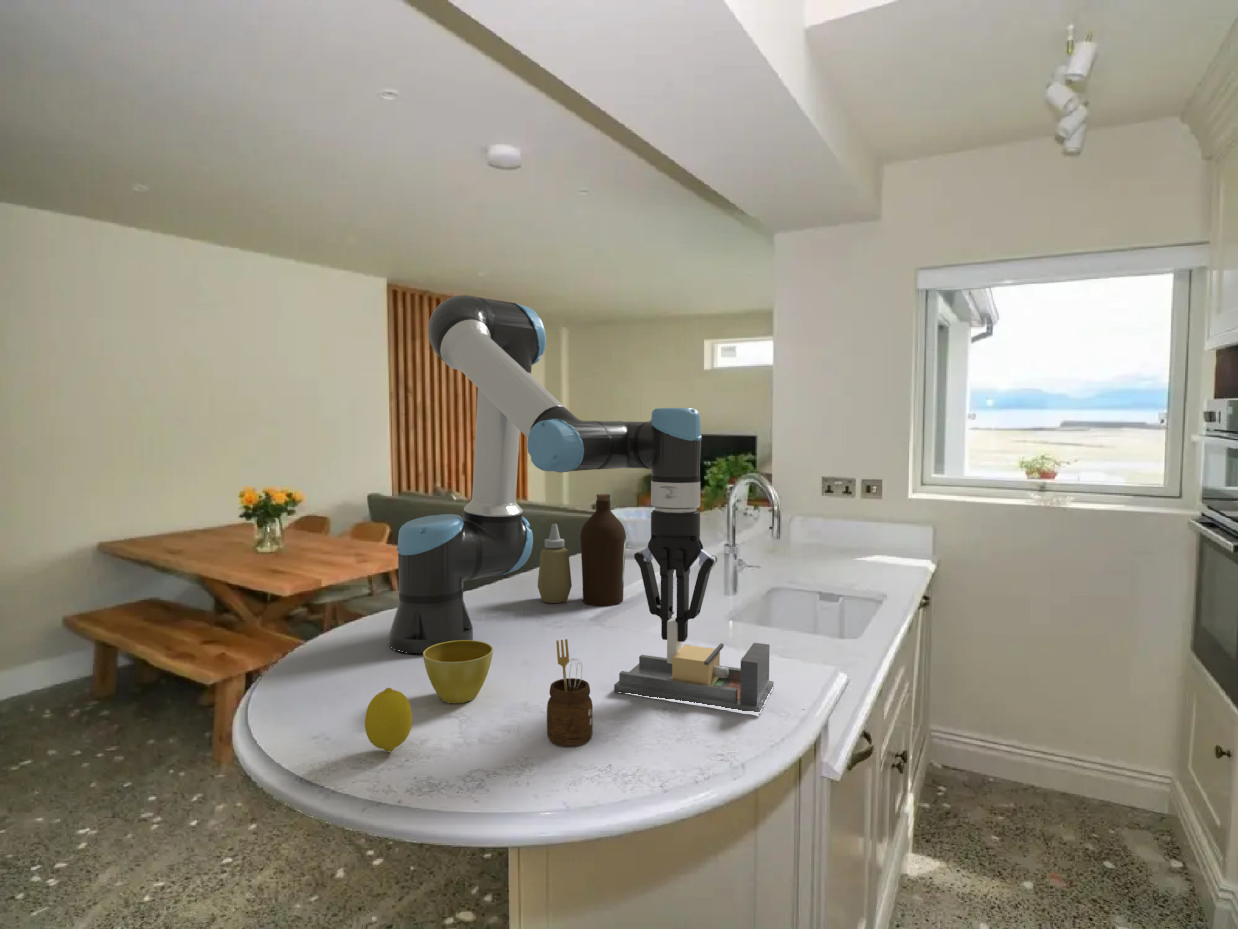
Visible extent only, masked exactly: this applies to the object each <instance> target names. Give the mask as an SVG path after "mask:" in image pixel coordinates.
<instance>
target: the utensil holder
mask: <svg viewBox="0 0 1238 929" xmlns="http://www.w3.org/2000/svg"><path fill="white" fill-rule="evenodd" d="M555 641H556V642H555V644H556V656H557V665H560V666H561V667H562V677H563V678H560V679H557V680H554V681H553V682H552V683H551V684H550V687H549V693H548V694H549V696H550V697H549V699H548V701H547V705H546V734H547V739H548V741H549V742H550V743H551V744H553V745H555V746H557V747H562V748H576V747H579V746H583V745H585V744H587V743H588V742H590V740H592V736H593V727H594V726H593V725H594V718H593V717H594V715H593V714H594V709H593V707H594V706H593V701H592V698H591V697H590V694H591V688H590V684H589V682H588V681H586V680H584V679H582V678H583V677H582V675H583V666H582V665H583V664H582V662H580V661H579V660H577V658H575V659H574V658H571V659H570V655H569V654H570V652H569V642H568V639H567V638H566V639H565V640H563V639H561V640H560V641H559V640H555ZM559 642H560V643H559ZM564 644H565V648H564ZM560 647H561V650H560ZM560 652H561V653H560ZM571 662H575V664H576V666H575V667H576V668H575V669H576V673H575V674H576V675H575V676H576V677H574V678H573V677H571V671H569V672H568V673H569V674H568V677H567V672H566V669H567V668H566V667H567V665H569V663H570V665H569V666H570V667H569V669H571V667H572V664H573V663H571ZM578 665H580V669H581V672H580V674H581V676H580V678H577V675H578Z"/></svg>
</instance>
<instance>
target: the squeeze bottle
mask: <svg viewBox="0 0 1238 929" xmlns="http://www.w3.org/2000/svg"><path fill="white" fill-rule="evenodd" d="M569 554H570V553H569V549H567V548H566V547H565V539H564V538H561V536H560V532H559V527H558V524H557V523H552V524H551V527H550V532H549V538H545V539H544V548H542V549H541V550H540V556H539V565H538V566H539V569H538V578H537V589H538V592H539V595H540V599H541V602H544V603H548V604H559V603H565V602H567V601H568V600H569V596H570V592H571V589H572V586H573V585H572V574H571V566H570V555H569Z"/></svg>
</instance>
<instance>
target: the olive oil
mask: <svg viewBox="0 0 1238 929" xmlns="http://www.w3.org/2000/svg"><path fill="white" fill-rule="evenodd" d="M611 504H612V502H611V494H610V493H598V494H596V500H595V508H596V509H595V511H594V512H593V513H592V514H591V516H589V518H588V519H587V520H586V521H585V523H584V524H583V526H582V528H581V532H580V535H579V536H580V554H581V556H580V558H581V574H582V575H581V576H582V577H581V578H582V602H583V603H585V604H586V605H591V606H598V607H599V606H600V607H603V606H604V607H606V606H607V607H608V606H616V605H619V604H621V603H622V602H624V585H625V564H626V548H627V547H626V546H627V533H626V528H625V526H624V524H623V523H622V522H621V520H620V519H619V518H618V517H617V516H616V515H615V514H614V513H613V512H612V509H611Z"/></svg>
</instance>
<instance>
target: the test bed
mask: <svg viewBox="0 0 1238 929" xmlns="http://www.w3.org/2000/svg"><path fill="white" fill-rule="evenodd" d="M770 646H771V645H770V644H769V643H760V642H753V643H752V645H751V646H750V647H749V649H748V650H747V651H746V653H745V654H744V655H743V657H742V658H741V659H740V668H739V667H732V666H727V665H720V666H721V667H728V670H729V672H728V678H720V677H719V678H718V680H717V681H716V682H715V684H714V685H711V684H704V683H698V682H691V681H685V680H678V679H672V664H670V663H667V657H662V656H654V655H646V654H641V655H639V657H638V658H639V659H638V662H639V663H638V664H636V665H635V666H634V667H632V669H630V670H629V671H626V670H625V671H624V670H622V671H620V672H619V674H618V678H619V679H618V681H617V682H616V683H615V684H613V692H621V693H631V694H638V695H642V696H649V697H657V698H658V697H659V698H665V699H675V700H680V701H681V700H682V701H689V702H694V703H695V702H696V703H702V704H707V705H715V706H721V707H725V708H731V709H738V710H742V711H754V712H760V710H761V708H762V706H763V705H764V702H765V700H766V699H767V696H768V694H769V693H770V691H771V689H772V687H773V688H774V681H772V680H770Z"/></svg>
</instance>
